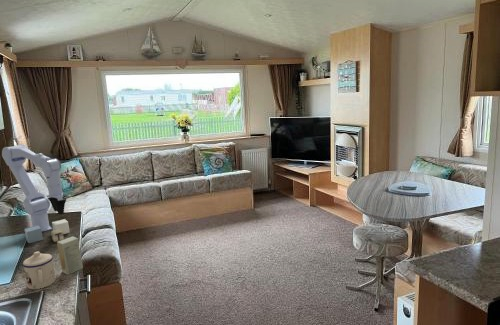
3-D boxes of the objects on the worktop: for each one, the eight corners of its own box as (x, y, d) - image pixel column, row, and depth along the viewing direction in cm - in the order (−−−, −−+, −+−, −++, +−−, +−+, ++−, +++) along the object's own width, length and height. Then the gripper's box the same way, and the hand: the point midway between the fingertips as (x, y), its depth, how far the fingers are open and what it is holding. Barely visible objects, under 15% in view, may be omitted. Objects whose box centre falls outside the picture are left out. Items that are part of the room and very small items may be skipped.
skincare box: (78, 265, 141) (73, 235, 138) (83, 268, 138) (79, 238, 136) (61, 272, 136) (56, 241, 134) (66, 275, 133) (61, 243, 131)
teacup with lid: (26, 282, 129) (20, 251, 127) (55, 274, 134) (50, 244, 132) (27, 297, 119) (21, 263, 117) (58, 288, 124) (53, 256, 122)
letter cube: (52, 239, 169) (50, 231, 168) (61, 237, 172) (60, 229, 171) (54, 242, 166) (53, 233, 165) (63, 239, 169) (62, 231, 168)
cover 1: (26, 240, 170) (24, 228, 169) (40, 236, 174) (38, 225, 173) (28, 243, 166) (26, 231, 165) (43, 239, 169) (41, 228, 168)
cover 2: (53, 232, 177) (51, 222, 176) (66, 229, 181) (64, 219, 180) (56, 236, 173) (54, 225, 172) (69, 232, 177) (68, 221, 176)
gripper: (41, 184, 175) (46, 211, 178) (48, 188, 165) (53, 217, 167) (57, 181, 180) (61, 208, 182) (65, 185, 169) (70, 213, 171)
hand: (59, 212), depth 175 cm, fingers open, 7 cm apart
